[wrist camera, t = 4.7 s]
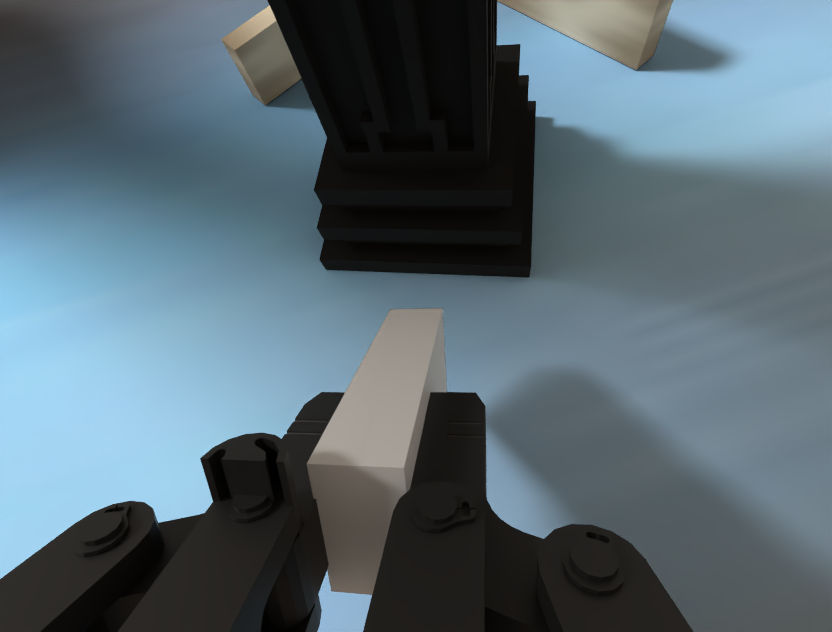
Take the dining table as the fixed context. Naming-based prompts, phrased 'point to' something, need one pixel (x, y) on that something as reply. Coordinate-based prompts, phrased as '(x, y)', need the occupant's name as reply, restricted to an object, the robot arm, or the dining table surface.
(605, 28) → the centring cradle
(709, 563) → the dining table surface
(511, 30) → the dining table surface
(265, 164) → the dining table surface
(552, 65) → the dining table surface
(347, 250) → the chess piece
